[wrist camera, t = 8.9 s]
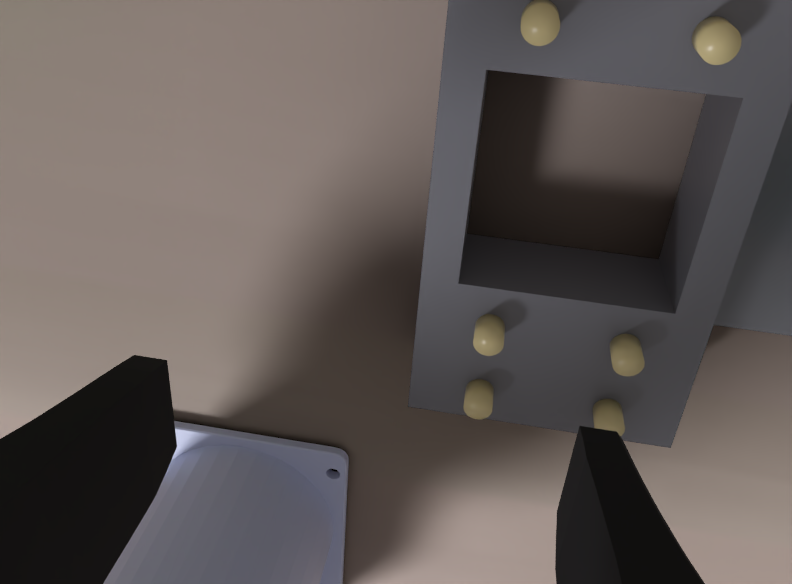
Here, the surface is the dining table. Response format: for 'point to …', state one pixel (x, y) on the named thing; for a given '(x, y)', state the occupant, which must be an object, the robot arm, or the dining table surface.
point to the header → (586, 269)
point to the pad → (765, 253)
